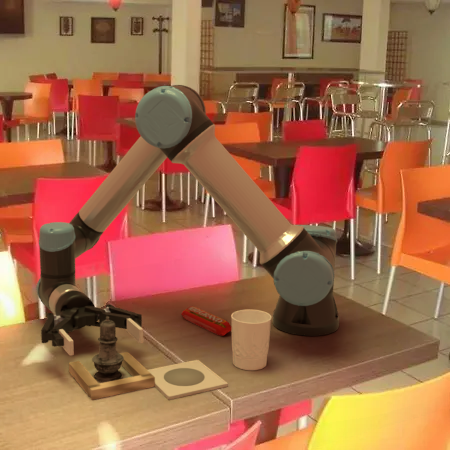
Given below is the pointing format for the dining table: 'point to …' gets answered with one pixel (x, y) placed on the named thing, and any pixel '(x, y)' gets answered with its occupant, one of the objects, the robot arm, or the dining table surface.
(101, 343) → the salt shaker
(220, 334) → the candy bar
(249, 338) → the white cup
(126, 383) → the block
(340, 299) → the dining table surface
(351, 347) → the dining table surface
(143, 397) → the dining table surface
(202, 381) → the cream square board
